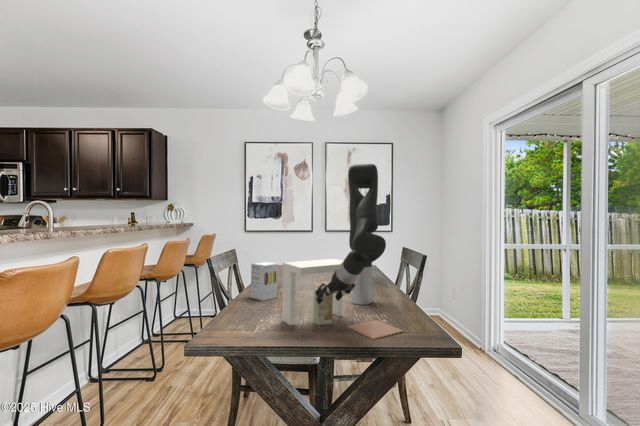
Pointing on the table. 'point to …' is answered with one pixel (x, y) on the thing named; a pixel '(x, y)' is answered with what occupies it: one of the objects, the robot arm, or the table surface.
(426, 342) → the table surface
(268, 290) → the supplement box
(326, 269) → the white stool
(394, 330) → the terracotta tile
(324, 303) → the skincare box
